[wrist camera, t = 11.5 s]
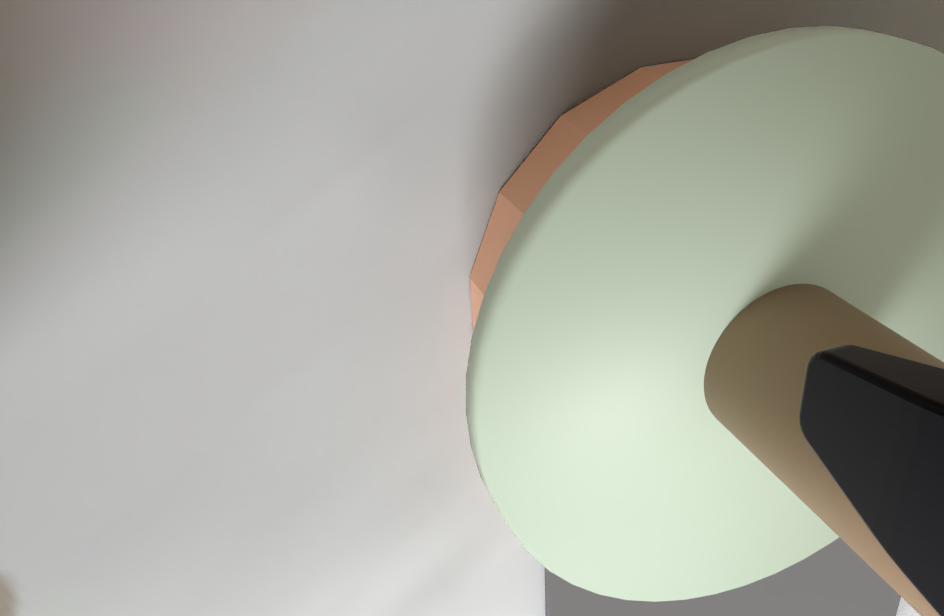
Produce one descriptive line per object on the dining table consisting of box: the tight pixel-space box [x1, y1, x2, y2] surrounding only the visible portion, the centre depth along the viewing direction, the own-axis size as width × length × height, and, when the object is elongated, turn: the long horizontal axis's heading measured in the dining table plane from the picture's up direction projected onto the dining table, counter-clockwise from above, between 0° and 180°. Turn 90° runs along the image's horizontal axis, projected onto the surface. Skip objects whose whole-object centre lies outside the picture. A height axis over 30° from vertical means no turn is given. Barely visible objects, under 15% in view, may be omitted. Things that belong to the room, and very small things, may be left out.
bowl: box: [470, 59, 694, 331], centre depth 23 cm, size 12×12×4 cm
